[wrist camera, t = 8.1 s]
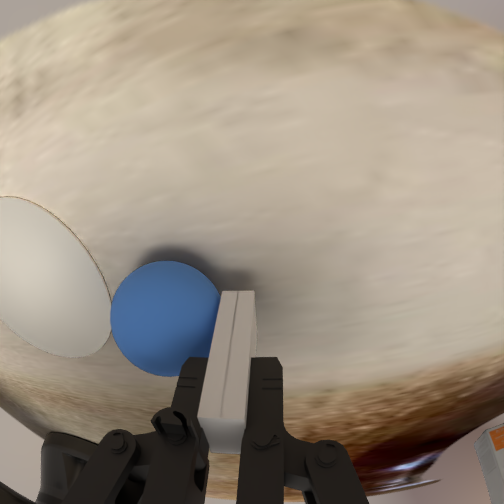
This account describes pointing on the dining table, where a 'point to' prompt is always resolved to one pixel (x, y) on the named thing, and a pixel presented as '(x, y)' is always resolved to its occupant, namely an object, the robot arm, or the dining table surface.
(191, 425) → the robot arm
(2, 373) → the dining table surface
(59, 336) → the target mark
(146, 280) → the ball
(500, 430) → the skincare box
